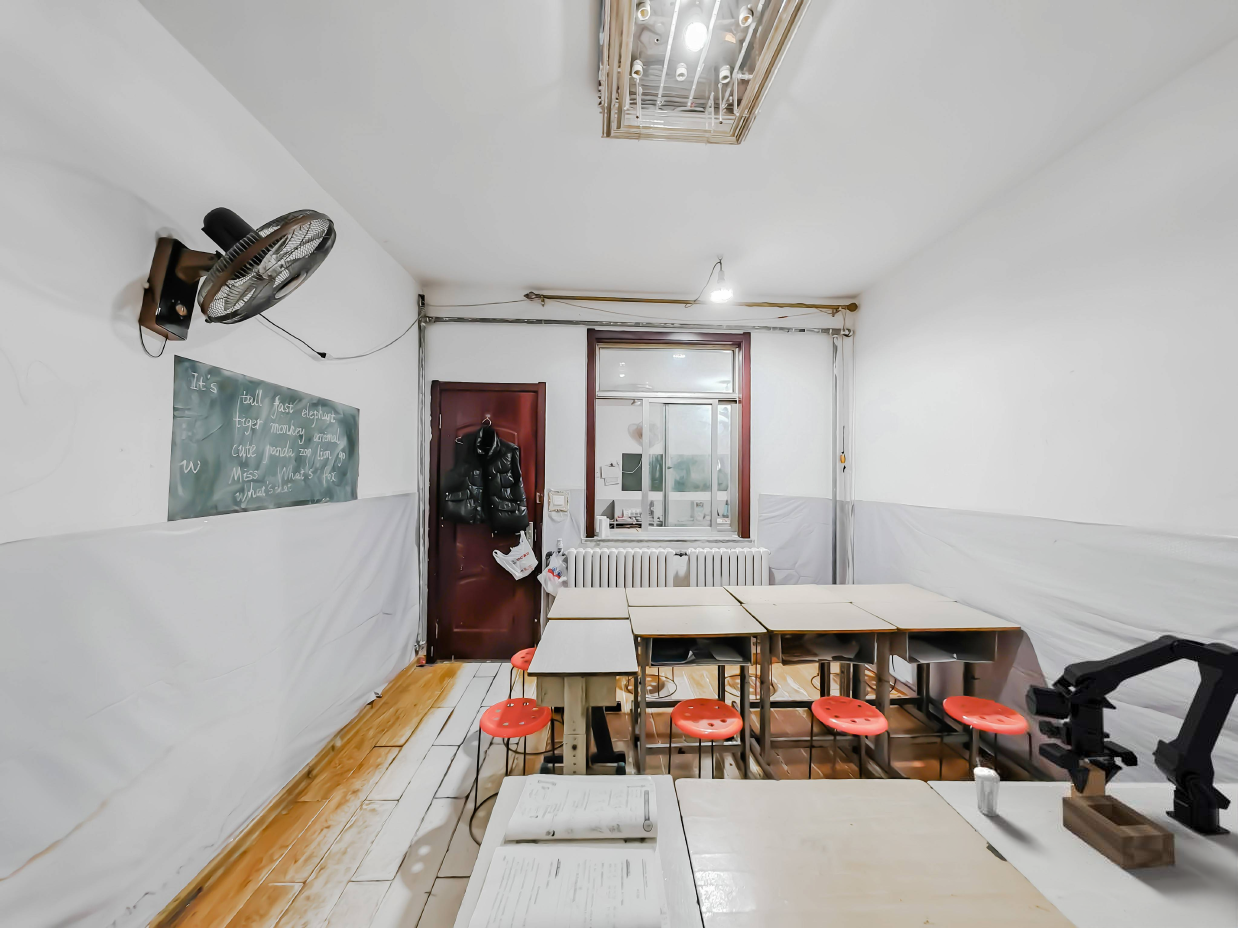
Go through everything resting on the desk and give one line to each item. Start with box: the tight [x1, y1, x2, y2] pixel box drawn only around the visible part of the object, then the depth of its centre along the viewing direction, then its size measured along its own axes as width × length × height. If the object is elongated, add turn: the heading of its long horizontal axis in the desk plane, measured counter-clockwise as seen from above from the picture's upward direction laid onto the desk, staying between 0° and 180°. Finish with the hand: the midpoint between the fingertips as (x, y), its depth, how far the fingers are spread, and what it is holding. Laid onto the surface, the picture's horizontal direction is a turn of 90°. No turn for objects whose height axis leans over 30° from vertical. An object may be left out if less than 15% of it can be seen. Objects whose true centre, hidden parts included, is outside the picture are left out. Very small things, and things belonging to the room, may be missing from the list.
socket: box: [1061, 794, 1176, 870], centre depth 94 cm, size 11×11×6 cm
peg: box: [1070, 760, 1107, 797], centre depth 107 cm, size 4×4×8 cm
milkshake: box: [973, 757, 1001, 817], centre depth 104 cm, size 4×5×10 cm
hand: (1088, 791), depth 106 cm, fingers closed on peg, 4 cm apart
